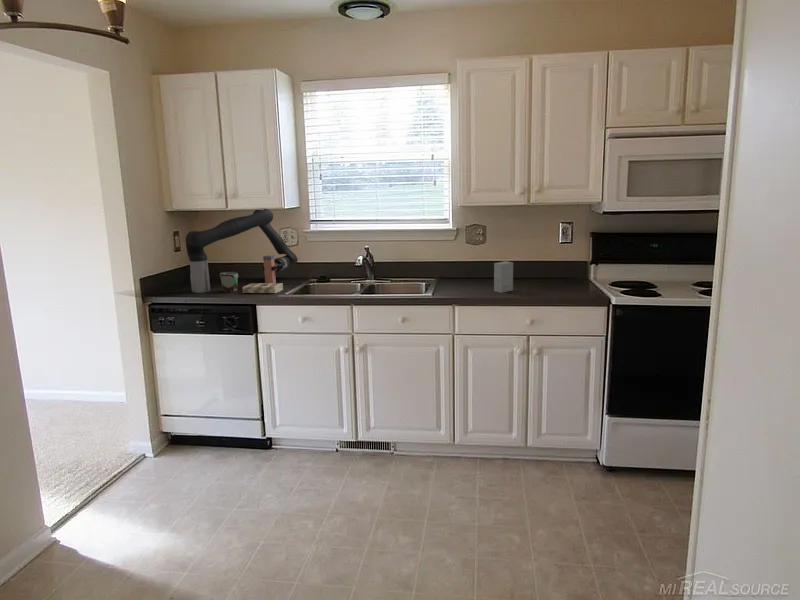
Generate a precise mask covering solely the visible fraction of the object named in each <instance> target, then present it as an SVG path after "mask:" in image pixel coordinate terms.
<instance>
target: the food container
mask: <svg viewBox="0 0 800 600" xmlns="http://www.w3.org/2000/svg"><path fill="white" fill-rule="evenodd" d="M219 278H220V281H221V289H222V292H227V291H230V292H229V293H237V292H238V289H239V288H238V286H239V285H238V278H239V273H238V272H236V271H224V272H220V273H219ZM236 291H237V292H236Z"/></svg>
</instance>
